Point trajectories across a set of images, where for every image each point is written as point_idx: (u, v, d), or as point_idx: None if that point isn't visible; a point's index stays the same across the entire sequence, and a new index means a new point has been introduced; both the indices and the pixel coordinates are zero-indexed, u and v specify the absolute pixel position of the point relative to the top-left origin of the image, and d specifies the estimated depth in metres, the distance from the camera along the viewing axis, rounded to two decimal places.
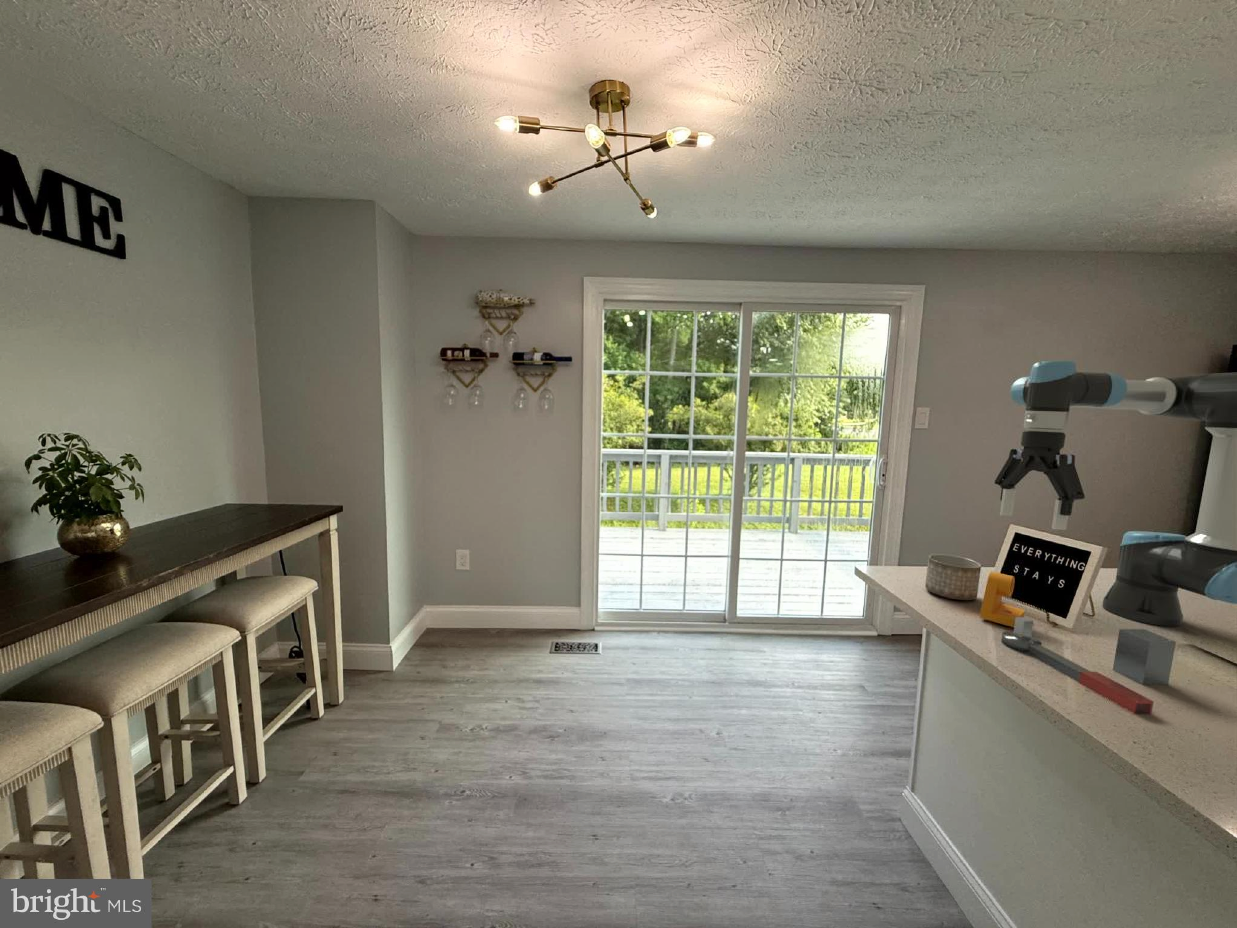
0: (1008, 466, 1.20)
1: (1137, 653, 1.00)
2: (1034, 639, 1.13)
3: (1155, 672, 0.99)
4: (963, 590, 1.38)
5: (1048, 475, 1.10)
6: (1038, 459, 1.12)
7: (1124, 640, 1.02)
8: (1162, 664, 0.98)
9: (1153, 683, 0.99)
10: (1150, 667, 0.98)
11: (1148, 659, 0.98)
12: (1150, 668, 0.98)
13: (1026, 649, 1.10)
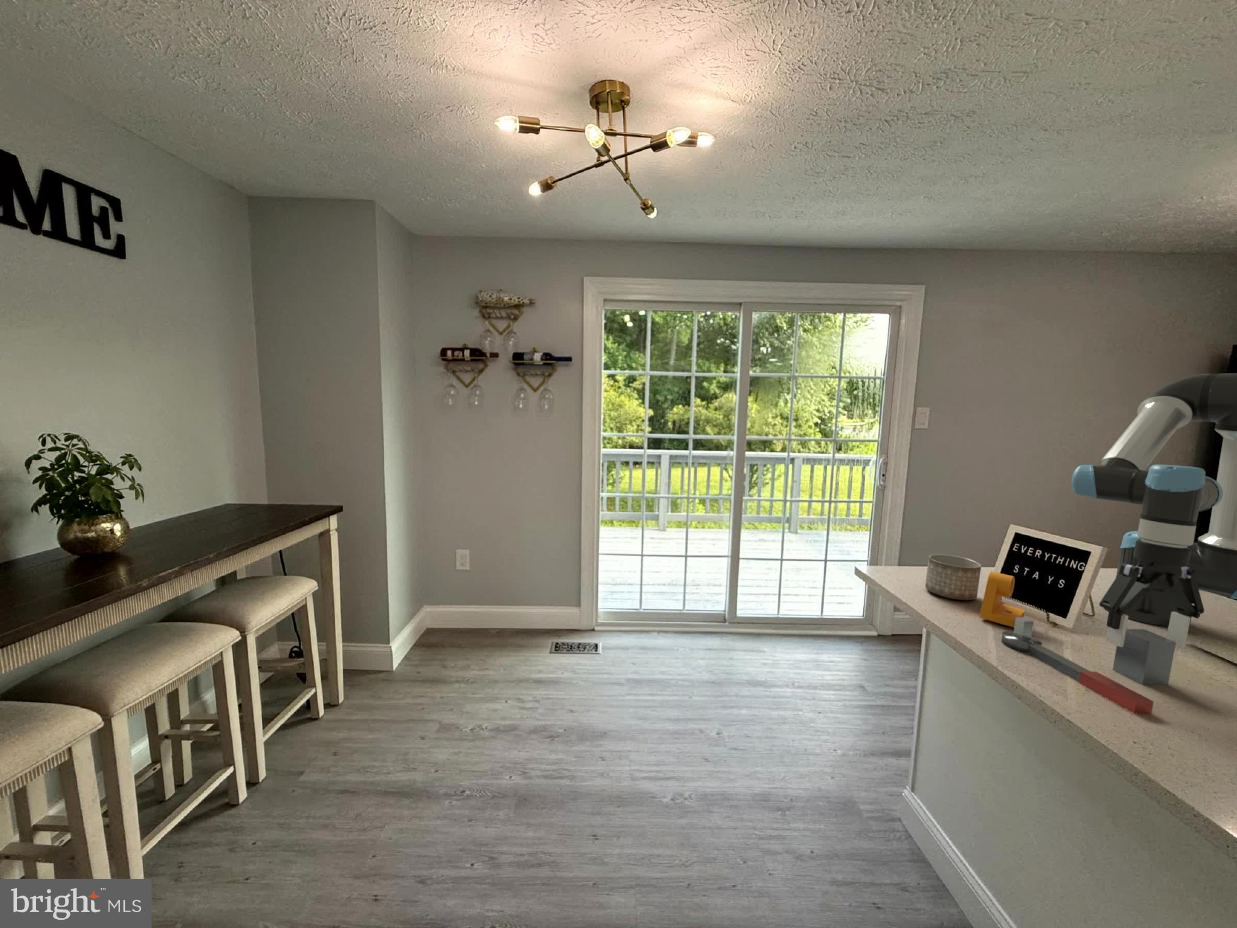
0: None
1: (1137, 653, 1.00)
2: (1034, 639, 1.13)
3: (1155, 672, 0.99)
4: (963, 590, 1.38)
5: None
6: None
7: (1124, 640, 1.02)
8: (1162, 664, 0.98)
9: (1153, 683, 0.99)
10: (1150, 667, 0.98)
11: (1148, 659, 0.98)
12: (1150, 668, 0.98)
13: (1026, 649, 1.10)
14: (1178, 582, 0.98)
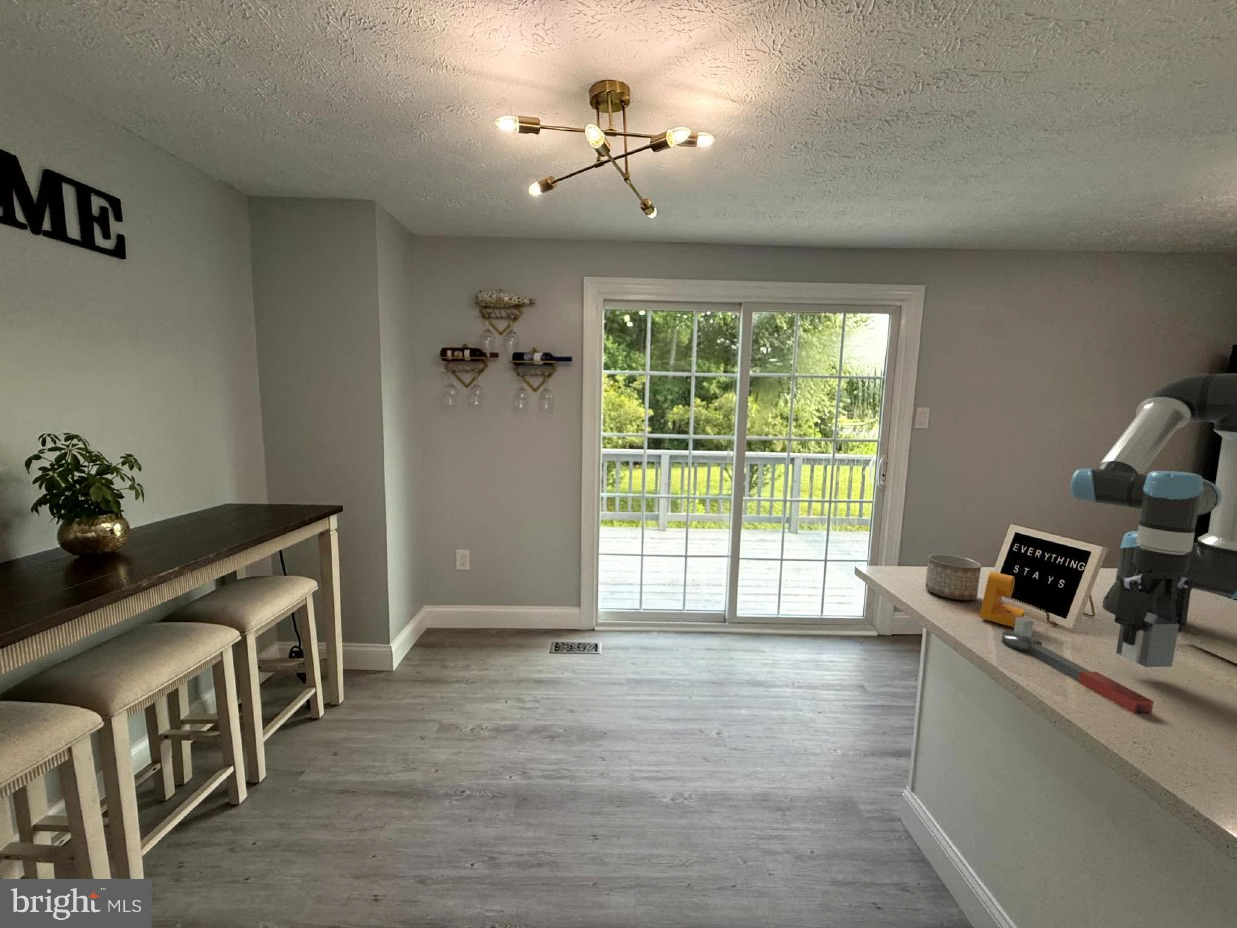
0: None
1: None
2: (1034, 639, 1.13)
3: (1158, 654, 0.99)
4: (963, 590, 1.38)
5: None
6: None
7: None
8: (1165, 646, 0.98)
9: (1157, 665, 0.99)
10: (1153, 649, 0.98)
11: (1151, 641, 0.98)
12: (1154, 650, 0.98)
13: (1026, 649, 1.10)
14: (1175, 590, 0.98)
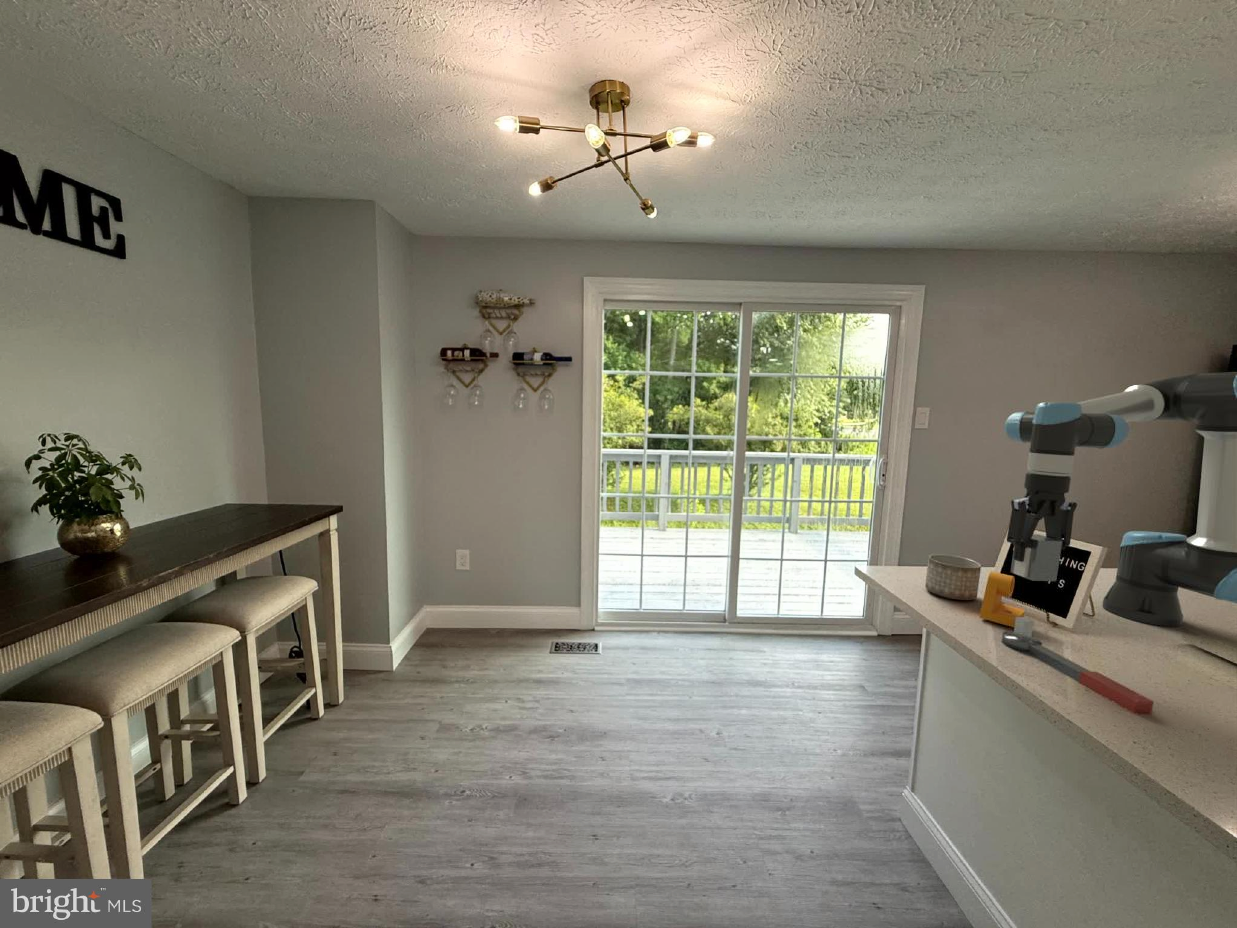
0: None
1: None
2: (1034, 639, 1.13)
3: (1044, 569, 1.08)
4: (963, 590, 1.38)
5: None
6: None
7: None
8: (1050, 562, 1.08)
9: (1042, 579, 1.08)
10: (1039, 564, 1.08)
11: (1037, 557, 1.08)
12: (1039, 565, 1.08)
13: (1026, 649, 1.10)
14: (1058, 510, 1.08)
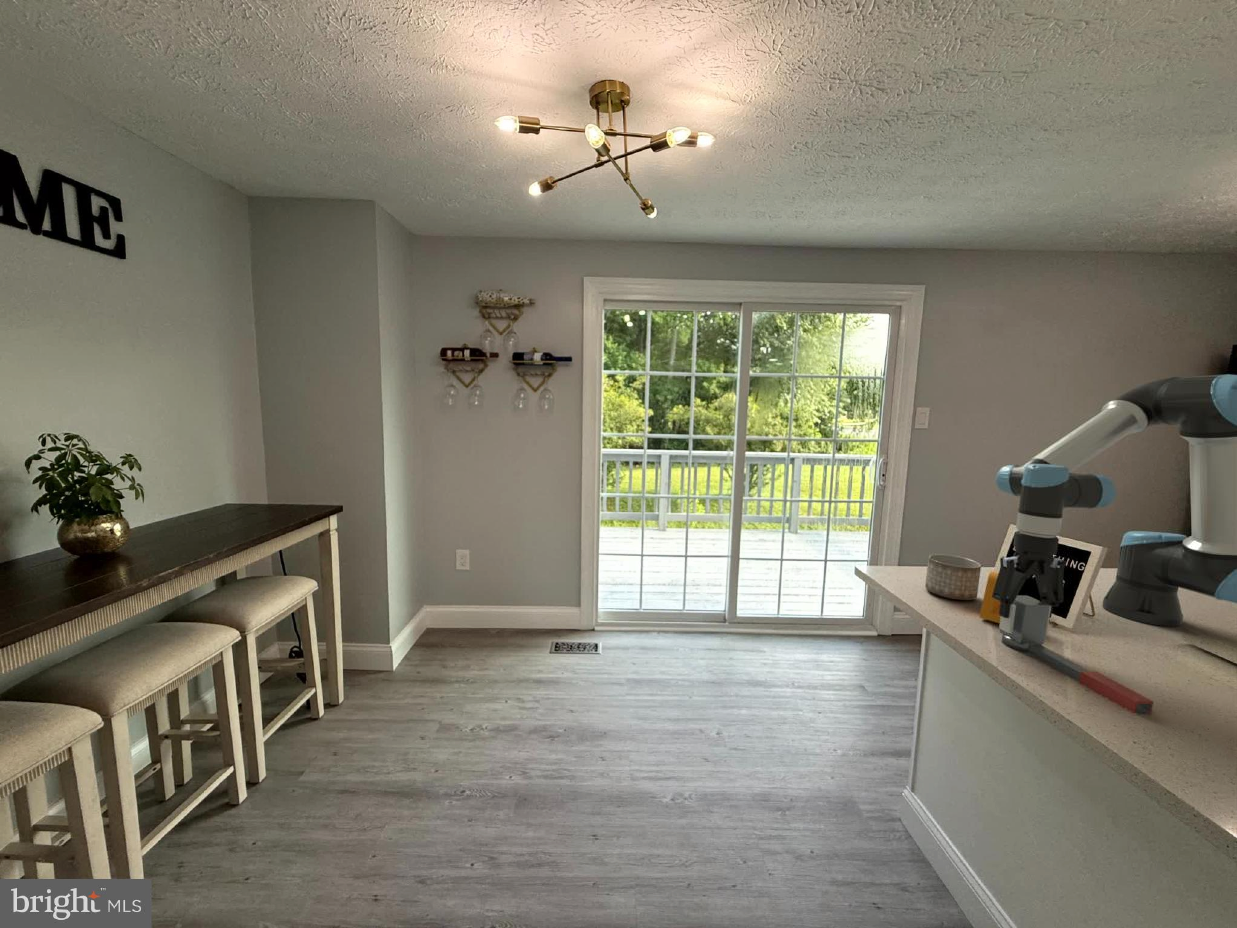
0: None
1: (1017, 616, 1.12)
2: None
3: (1032, 632, 1.10)
4: (963, 590, 1.38)
5: None
6: None
7: None
8: (1038, 625, 1.10)
9: (1030, 642, 1.11)
10: (1027, 628, 1.10)
11: (1025, 620, 1.10)
12: (1027, 629, 1.10)
13: (1026, 649, 1.10)
14: (1048, 570, 1.10)
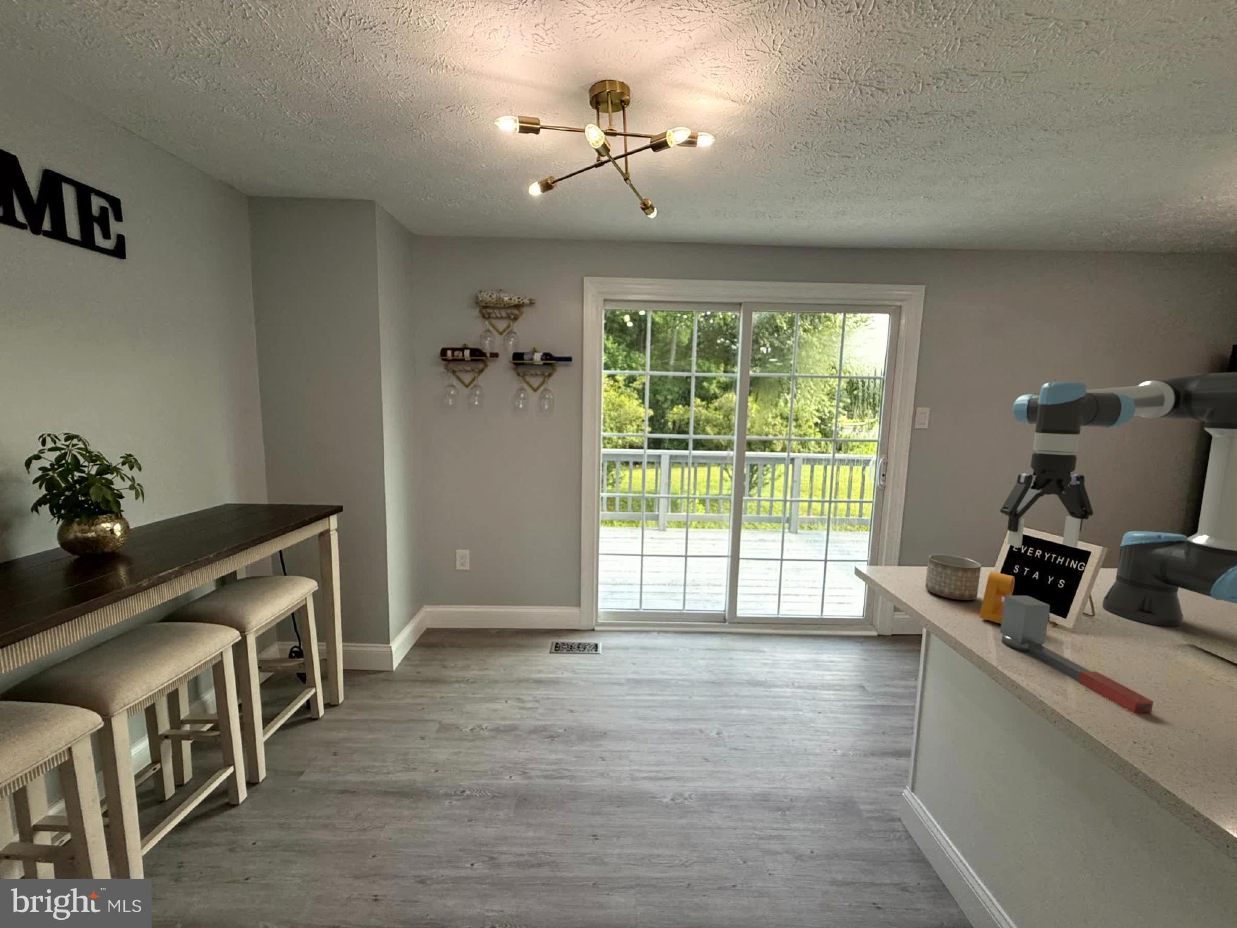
0: None
1: (1017, 616, 1.12)
2: None
3: (1032, 632, 1.10)
4: (963, 590, 1.38)
5: None
6: None
7: (1008, 605, 1.14)
8: (1038, 625, 1.10)
9: (1031, 642, 1.10)
10: (1027, 628, 1.10)
11: (1025, 621, 1.10)
12: (1027, 629, 1.10)
13: (1026, 649, 1.10)
14: (1068, 487, 1.09)
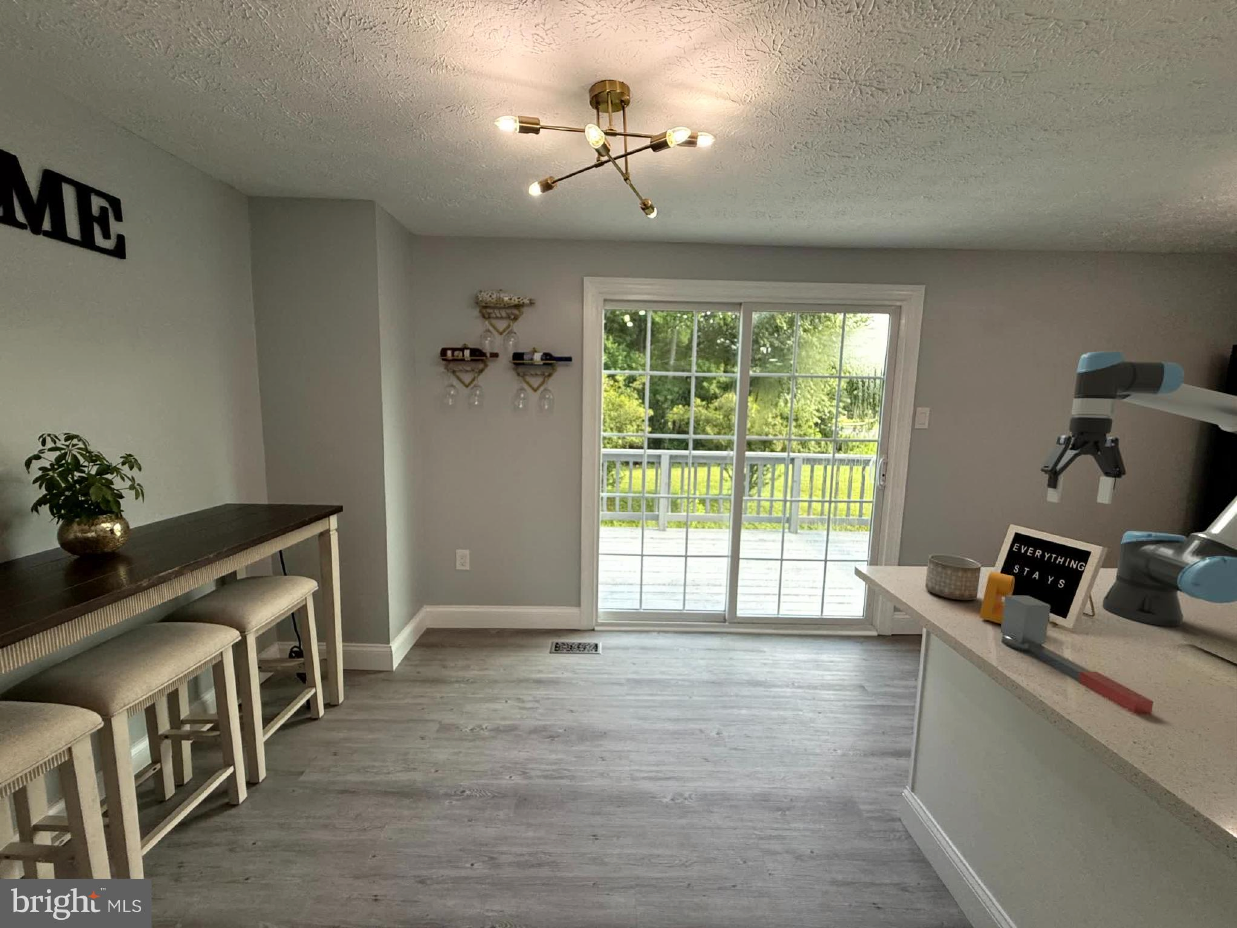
0: None
1: (1018, 616, 1.12)
2: None
3: (1032, 632, 1.10)
4: (963, 590, 1.38)
5: None
6: None
7: (1009, 604, 1.14)
8: (1039, 625, 1.10)
9: (1031, 642, 1.11)
10: (1028, 628, 1.10)
11: (1026, 621, 1.10)
12: (1028, 629, 1.10)
13: (1026, 649, 1.10)
14: (1103, 448, 1.20)
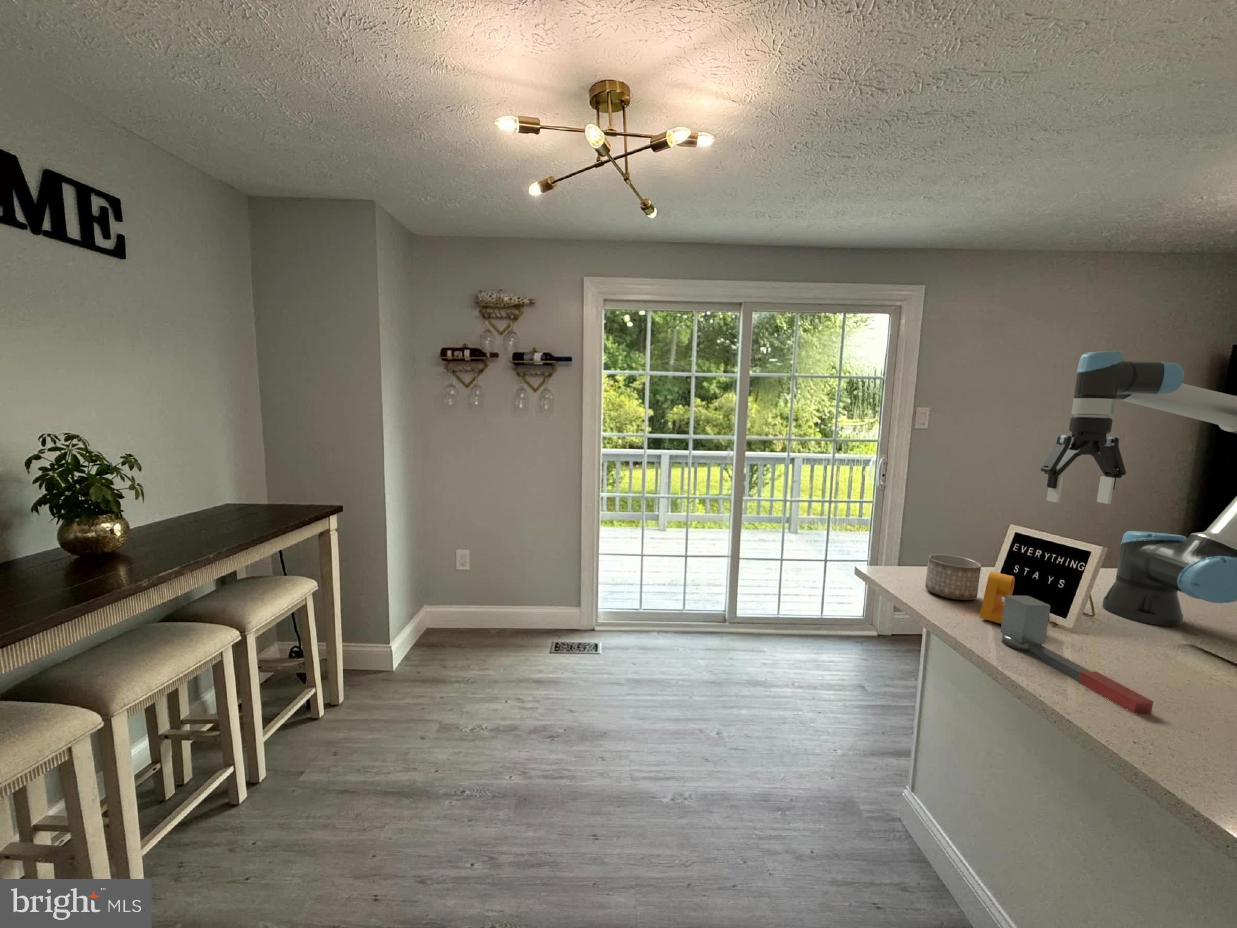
0: None
1: (1018, 616, 1.12)
2: None
3: (1032, 632, 1.10)
4: (963, 590, 1.38)
5: None
6: None
7: (1009, 604, 1.14)
8: (1038, 625, 1.10)
9: (1031, 642, 1.10)
10: (1028, 628, 1.10)
11: (1026, 621, 1.10)
12: (1028, 629, 1.10)
13: (1026, 649, 1.10)
14: (1103, 448, 1.20)
